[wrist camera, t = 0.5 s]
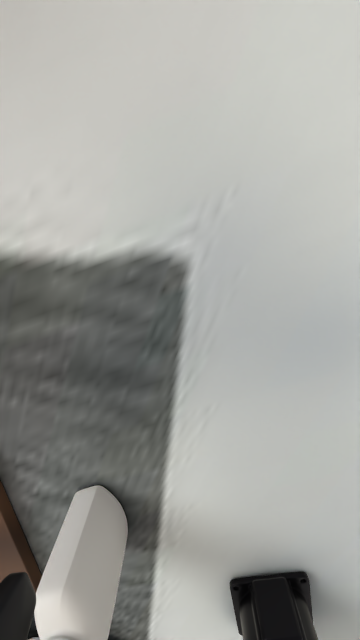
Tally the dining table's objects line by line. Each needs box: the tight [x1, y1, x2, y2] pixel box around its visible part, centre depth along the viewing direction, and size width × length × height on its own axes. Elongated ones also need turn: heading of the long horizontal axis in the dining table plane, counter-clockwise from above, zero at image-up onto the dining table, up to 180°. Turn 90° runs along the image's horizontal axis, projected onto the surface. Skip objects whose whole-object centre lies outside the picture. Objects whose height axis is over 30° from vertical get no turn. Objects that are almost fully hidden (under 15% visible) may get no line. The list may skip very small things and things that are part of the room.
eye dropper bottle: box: [34, 485, 128, 640], centre depth 19 cm, size 4×6×12 cm
